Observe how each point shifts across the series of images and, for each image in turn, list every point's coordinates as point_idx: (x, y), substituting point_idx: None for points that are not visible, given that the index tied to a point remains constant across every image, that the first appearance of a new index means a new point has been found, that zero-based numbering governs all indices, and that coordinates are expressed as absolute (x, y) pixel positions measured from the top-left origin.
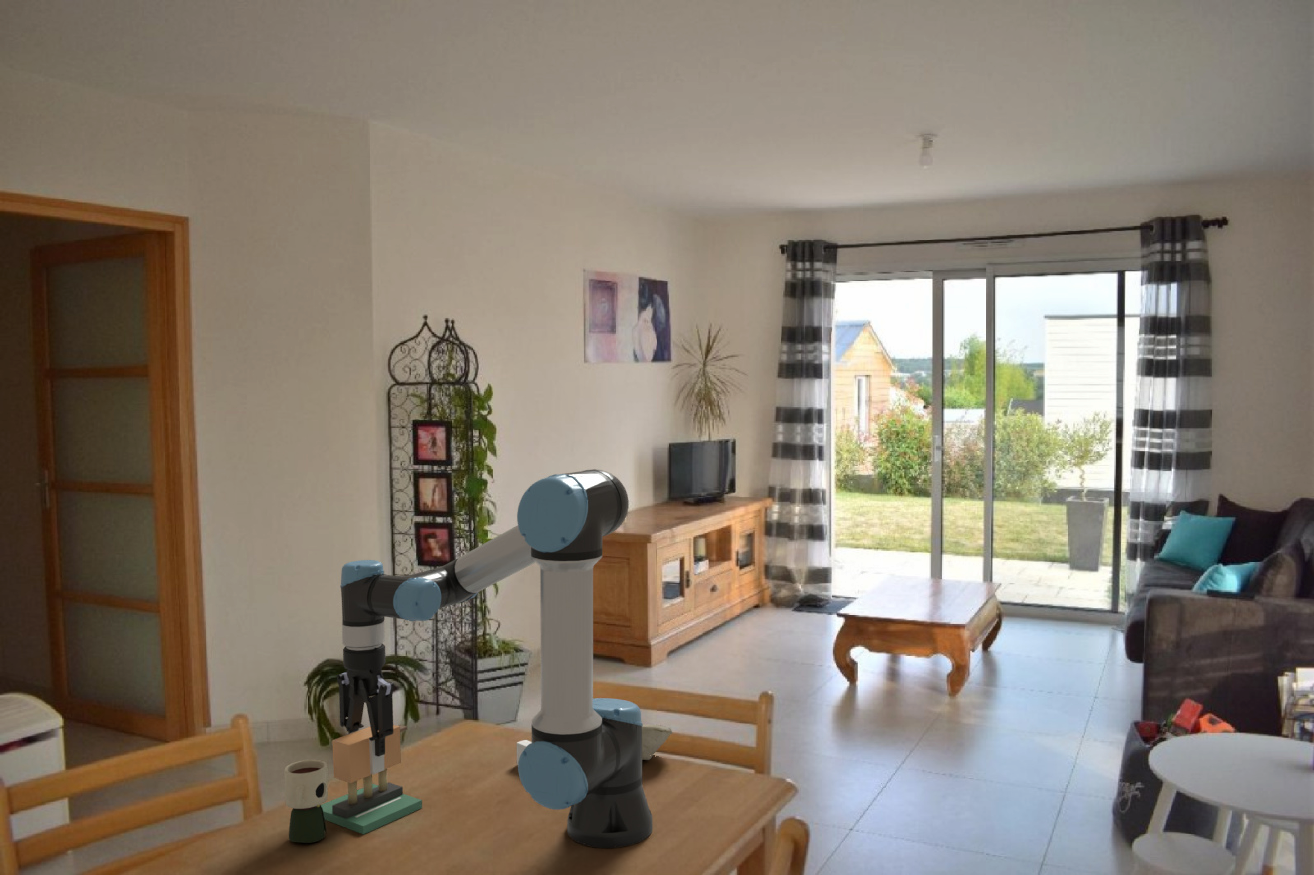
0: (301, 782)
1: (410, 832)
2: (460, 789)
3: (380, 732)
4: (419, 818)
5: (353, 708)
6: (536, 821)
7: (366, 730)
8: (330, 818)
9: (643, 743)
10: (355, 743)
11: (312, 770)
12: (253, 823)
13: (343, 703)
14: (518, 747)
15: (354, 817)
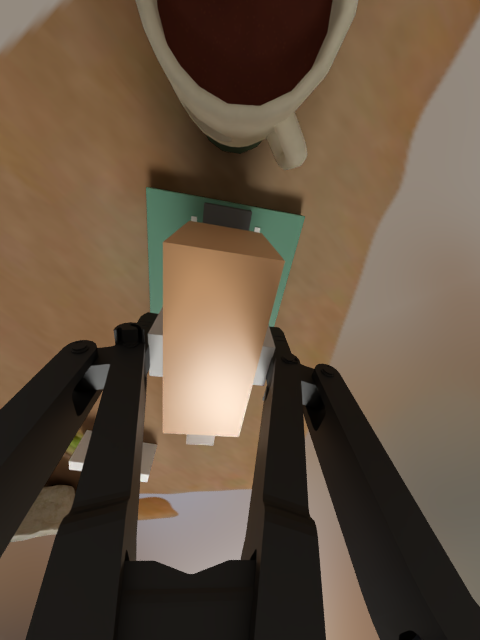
0: None
1: (87, 237)
2: (160, 380)
3: (76, 355)
4: (125, 288)
5: (268, 440)
6: None
7: (231, 381)
8: (252, 206)
9: None
10: (163, 275)
11: (249, 69)
12: (404, 120)
13: (357, 458)
14: (146, 468)
15: (195, 215)
